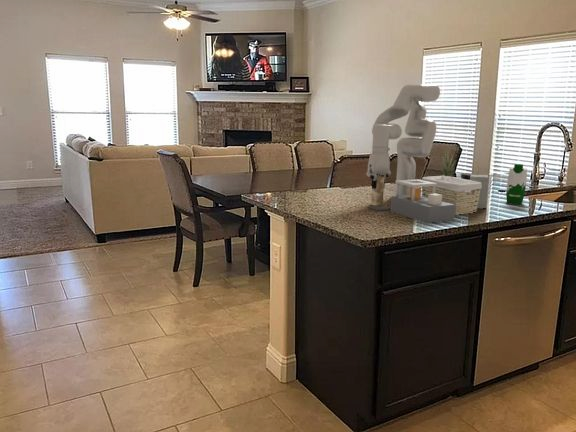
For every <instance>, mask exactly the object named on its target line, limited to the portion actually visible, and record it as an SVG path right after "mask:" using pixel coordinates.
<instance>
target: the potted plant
mask: <svg viewBox="0 0 576 432" xmlns="http://www.w3.org/2000/svg"><path fill="white" fill-rule="evenodd" d="M444 156H445V158H444ZM444 156H443V155H442V159H443V164H444V167H443V166H442V165H441V164H439V167H440V168H441V172H442V175H441V176H449V177H453V175H454V174H455V173H456V170H455V164H456V162H457V160H456V159H455V160H454V161H453V159H454V155H452V156H451V158H450V156H449V152H447V153H446V151H444Z"/></svg>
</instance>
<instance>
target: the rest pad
mask: <svg viewBox="0 0 576 432" xmlns="http://www.w3.org/2000/svg"><path fill="white" fill-rule="evenodd" d="M368 209H370V210H373V211H376V212H384V211H390V210H391V208H389V207H385V206H368Z"/></svg>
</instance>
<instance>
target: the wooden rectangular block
mask: <svg viewBox="0 0 576 432" xmlns="http://www.w3.org/2000/svg"><path fill="white" fill-rule="evenodd" d="M376 181H377V185H376V189H373V188H372V187H371V203H370V204H371V205H372V206H373V207H376V206H382V207H384V194H385V193H384V192H385V191H384V189H385V186H384V177H382V176H381V175H377V177H376Z"/></svg>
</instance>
